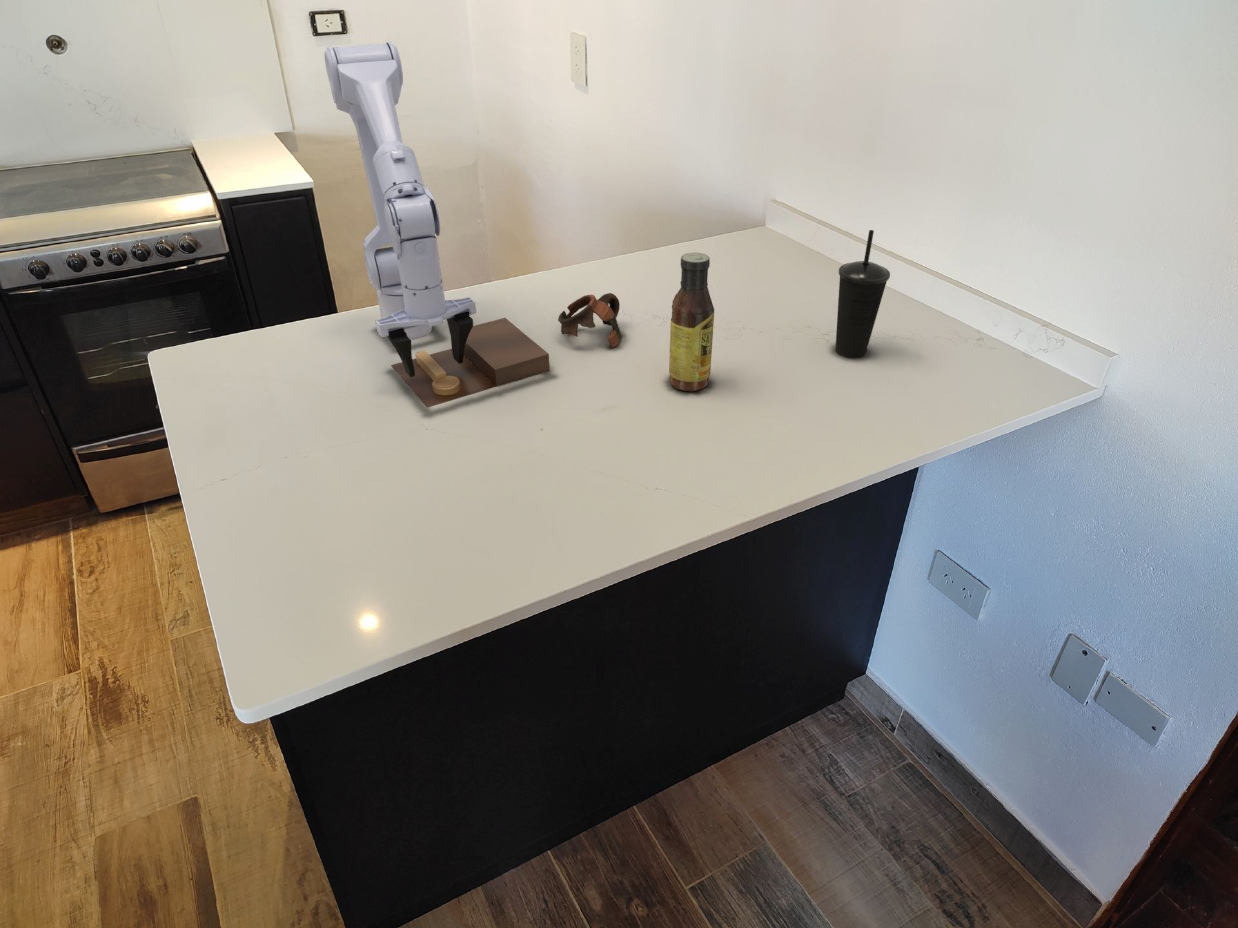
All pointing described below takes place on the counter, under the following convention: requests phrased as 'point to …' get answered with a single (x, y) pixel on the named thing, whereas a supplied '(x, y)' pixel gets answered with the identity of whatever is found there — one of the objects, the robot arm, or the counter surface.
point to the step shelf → (481, 362)
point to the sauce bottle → (691, 326)
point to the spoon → (437, 375)
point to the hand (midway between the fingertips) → (434, 367)
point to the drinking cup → (858, 303)
